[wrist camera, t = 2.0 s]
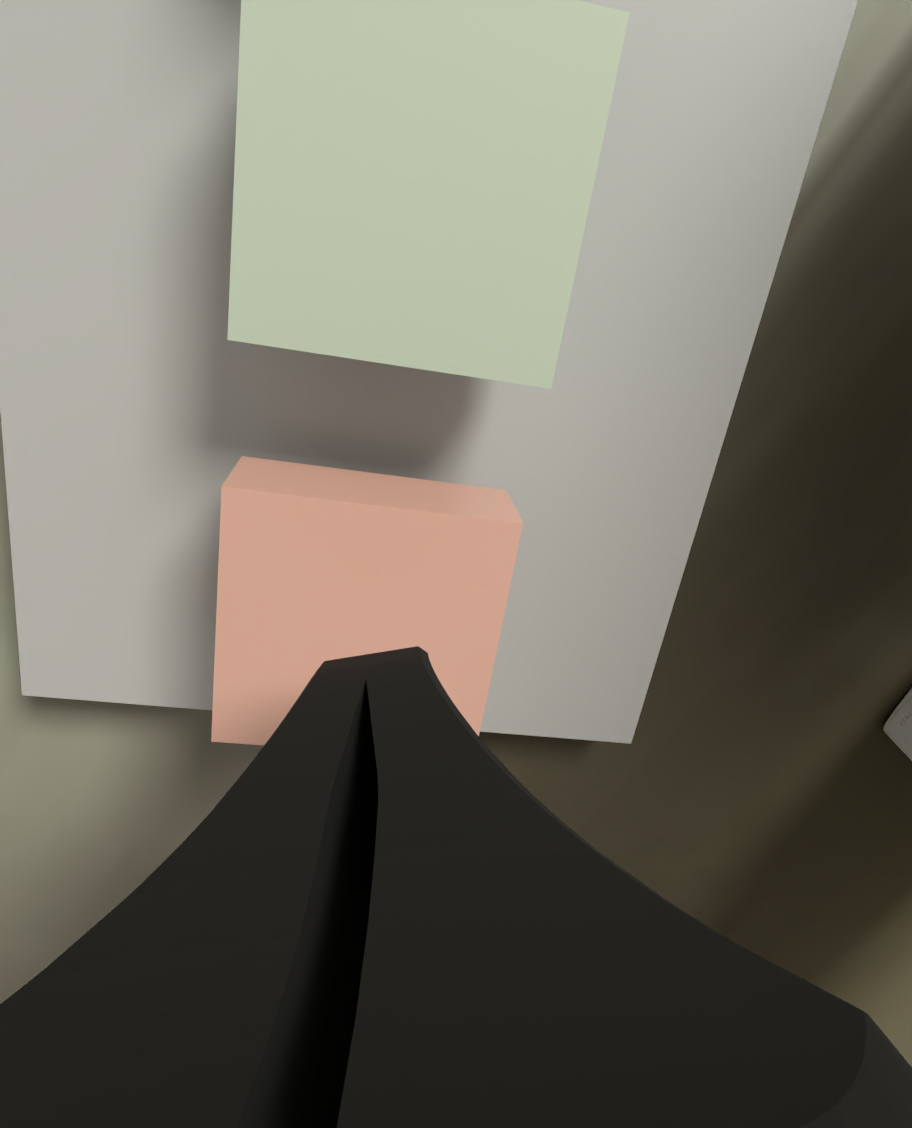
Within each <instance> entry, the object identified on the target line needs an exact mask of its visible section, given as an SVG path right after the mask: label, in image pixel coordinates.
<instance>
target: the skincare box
mask: <svg viewBox="0 0 912 1128" xmlns="http://www.w3.org/2000/svg"><path fill="white" fill-rule="evenodd" d="M883 730H884V732H885V733H886V734H887V735H888V736H889V738H890V739H891V740H892V741H893V742H894V743H895V744H896V745H897V746H898V747H899V748H900V749H901V750H902V751H903V752H904V753H905V754H906V755H907V756H908V758H909V759H910V760H911V761H912V688H911V689H910V691H909V692H908V693H907V695H906V696H905V697H904V698H903V700H902V701H901V702H900V703H899V705H898V706H897V707H896V709H895V710H894V711H893V713H892V714H891V716H890V717H889V719H888V720H887V722H886V723H885V725H884V728H883Z"/></svg>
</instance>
